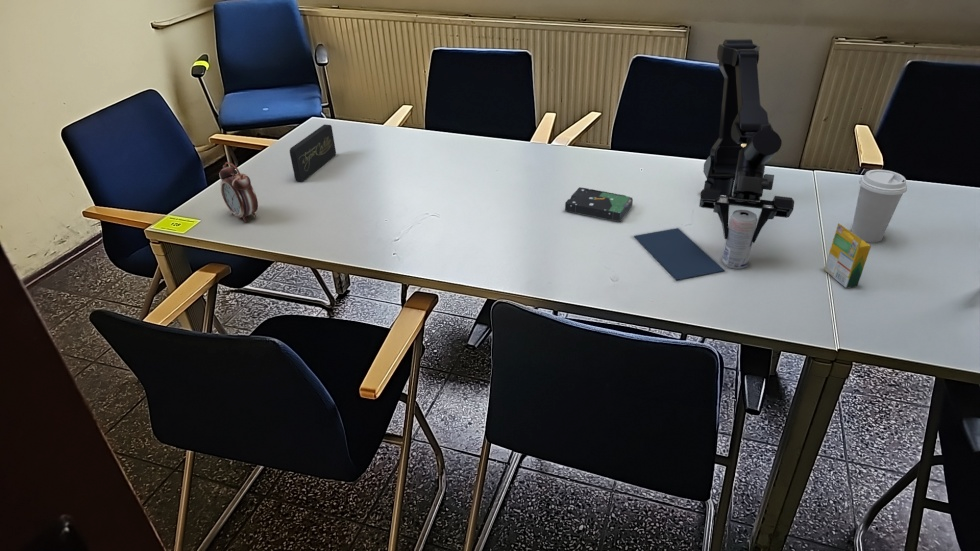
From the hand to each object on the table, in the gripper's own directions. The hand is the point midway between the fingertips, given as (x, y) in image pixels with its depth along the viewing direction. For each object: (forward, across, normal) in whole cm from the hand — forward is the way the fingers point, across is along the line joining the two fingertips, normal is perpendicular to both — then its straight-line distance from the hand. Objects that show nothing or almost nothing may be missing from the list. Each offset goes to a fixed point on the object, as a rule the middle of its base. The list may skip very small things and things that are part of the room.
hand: (739, 240), depth 140 cm
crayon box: (+4, +21, +6) cm, 22 cm away
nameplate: (-11, -119, +21) cm, 122 cm away
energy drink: (+4, 0, +6) cm, 7 cm away
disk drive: (-9, -34, +18) cm, 39 cm away
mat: (+3, -12, +6) cm, 14 cm away
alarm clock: (+12, -121, -2) cm, 121 cm away
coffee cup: (-11, +29, +21) cm, 37 cm away
